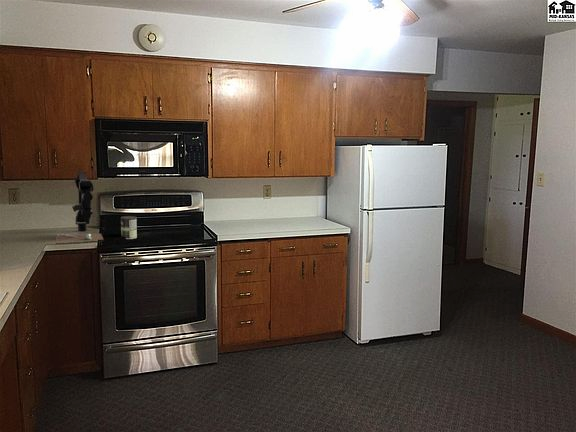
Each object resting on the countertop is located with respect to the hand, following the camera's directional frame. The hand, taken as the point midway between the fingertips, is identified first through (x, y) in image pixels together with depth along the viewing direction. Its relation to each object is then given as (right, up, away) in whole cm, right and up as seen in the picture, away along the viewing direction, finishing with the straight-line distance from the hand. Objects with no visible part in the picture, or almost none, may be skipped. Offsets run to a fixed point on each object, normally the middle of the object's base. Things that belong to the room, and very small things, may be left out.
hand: (86, 223), depth 325 cm
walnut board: (-5, -11, +1) cm, 12 cm away
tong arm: (-5, -9, -2) cm, 11 cm away
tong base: (-11, -8, +5) cm, 15 cm away
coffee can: (+24, -10, +12) cm, 28 cm away
